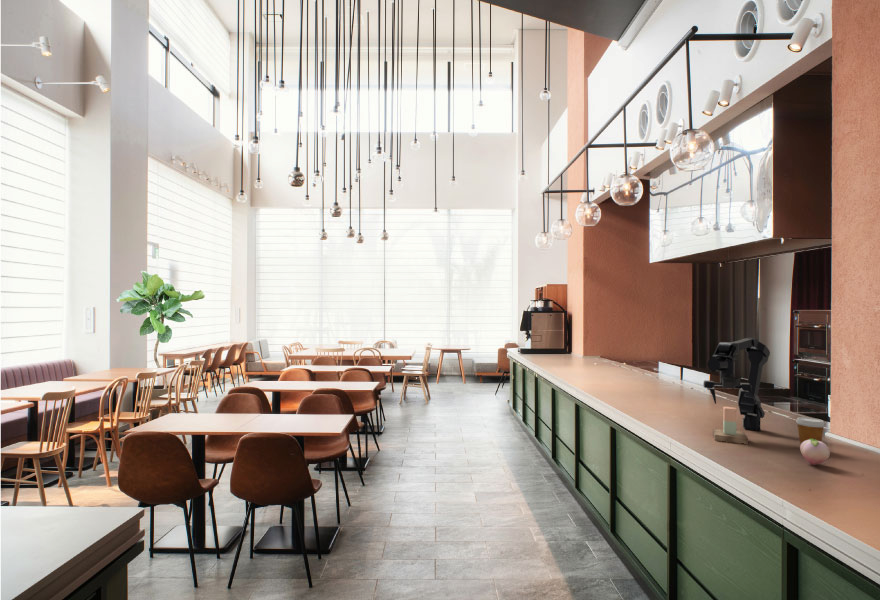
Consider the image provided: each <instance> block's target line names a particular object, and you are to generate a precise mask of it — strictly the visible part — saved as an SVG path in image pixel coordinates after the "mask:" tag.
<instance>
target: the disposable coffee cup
mask: <svg viewBox="0 0 880 600" xmlns="http://www.w3.org/2000/svg"><path fill="white" fill-rule="evenodd" d="M795 422H796V425H797V431H798V438H799V445H800V446H801V444H802V443H803V442H804V441H806V440H809V439H814V437H815V439H816V440H817V441H820V442H822V439H823V433H824V427H825V425H826V424H825V422H824V420H822V419H819V418H814V417H806V416H805V417H804V416H799V417H797V418H796V420H795ZM800 446H799V447H800Z"/></svg>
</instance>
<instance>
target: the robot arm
mask: <svg viewBox="0 0 880 600" xmlns="http://www.w3.org/2000/svg"><path fill="white" fill-rule="evenodd" d="M742 350H744V351H745V352H746V354H747V359H748V361H749V363H750V364H749V365H750V366H749V370H748V371H749V372H748V378H747V382H741V378H740V377H736V376H735V369H736V368H735V365H736V363H735V361H737V360H738V358H737V357H736V355H738V354H739V352H740V351H742ZM770 354H771V352H770V349H769V348H768V347H767V346H766V345H765V344H764V343H762V342H761V341H759V339H757V338H755V337H745V338H743V339H742V338H741V339H738V340H736V341H731V342H727V341H720V342H719V343H718V345H717V346H716V348H715V350H714V353H713V355H711V358H709V360H708V361H707V367H708V369H709V370H710V371H712V372H719V382H715V381H714V380H706V379H705V380H703V388H705V389H706V390H708V391H709V392H710V394H711V396H712V399H713V402H714V404H717V397H716V389H715V388H723V389H731V390H734V389H735V390H736V389H738V397H737V398H738V399H737V405H738V408H739V414H740V415H742V416H743V418H742V427H743V429H744V430H747V431H758V432H762V429H761V419H763V418H765V414H766V412H765V411H764V408H762V401H761V400H760V397H759V392H760V391H759V390H760V385H761V378H762V373H763V367H764V365H765V364H766V363H767V362H768V360H769V357H770Z"/></svg>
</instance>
